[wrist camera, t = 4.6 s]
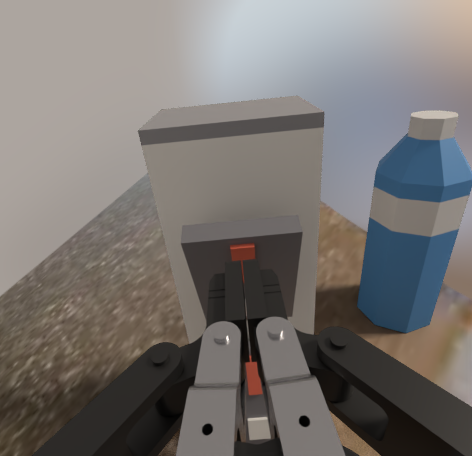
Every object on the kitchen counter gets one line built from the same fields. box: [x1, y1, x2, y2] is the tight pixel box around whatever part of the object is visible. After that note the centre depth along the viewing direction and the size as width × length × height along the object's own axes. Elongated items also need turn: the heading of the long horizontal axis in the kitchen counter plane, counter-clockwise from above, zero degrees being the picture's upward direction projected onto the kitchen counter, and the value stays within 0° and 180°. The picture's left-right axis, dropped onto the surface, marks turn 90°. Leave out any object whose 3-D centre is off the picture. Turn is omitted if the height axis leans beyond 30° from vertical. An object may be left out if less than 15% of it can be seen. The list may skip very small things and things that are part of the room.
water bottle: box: [357, 111, 472, 333], centre depth 36 cm, size 9×9×25 cm
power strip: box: [138, 96, 324, 343], centre depth 27 cm, size 10×13×29 cm
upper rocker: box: [181, 215, 303, 321], centre depth 19 cm, size 2×6×9 cm, turn 92°
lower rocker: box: [245, 341, 271, 444], centre depth 25 cm, size 1×6×9 cm, turn 92°
